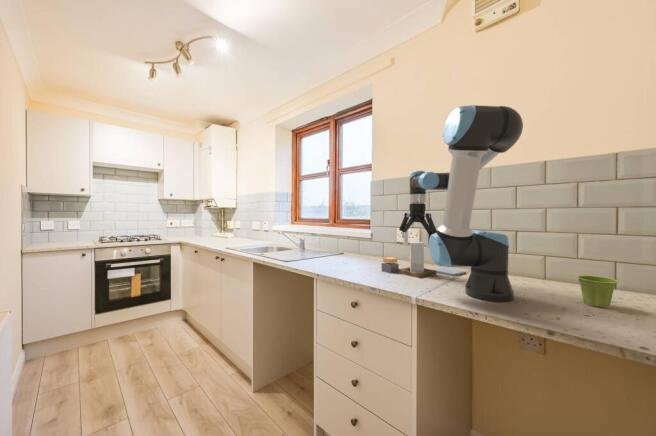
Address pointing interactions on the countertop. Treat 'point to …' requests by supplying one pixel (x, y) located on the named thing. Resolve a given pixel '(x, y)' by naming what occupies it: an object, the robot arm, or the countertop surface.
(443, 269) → the rubber pad
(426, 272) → the walnut dock
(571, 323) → the countertop surface
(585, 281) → the plant pot
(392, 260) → the plunger
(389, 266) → the block
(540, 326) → the countertop surface
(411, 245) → the skincare box
